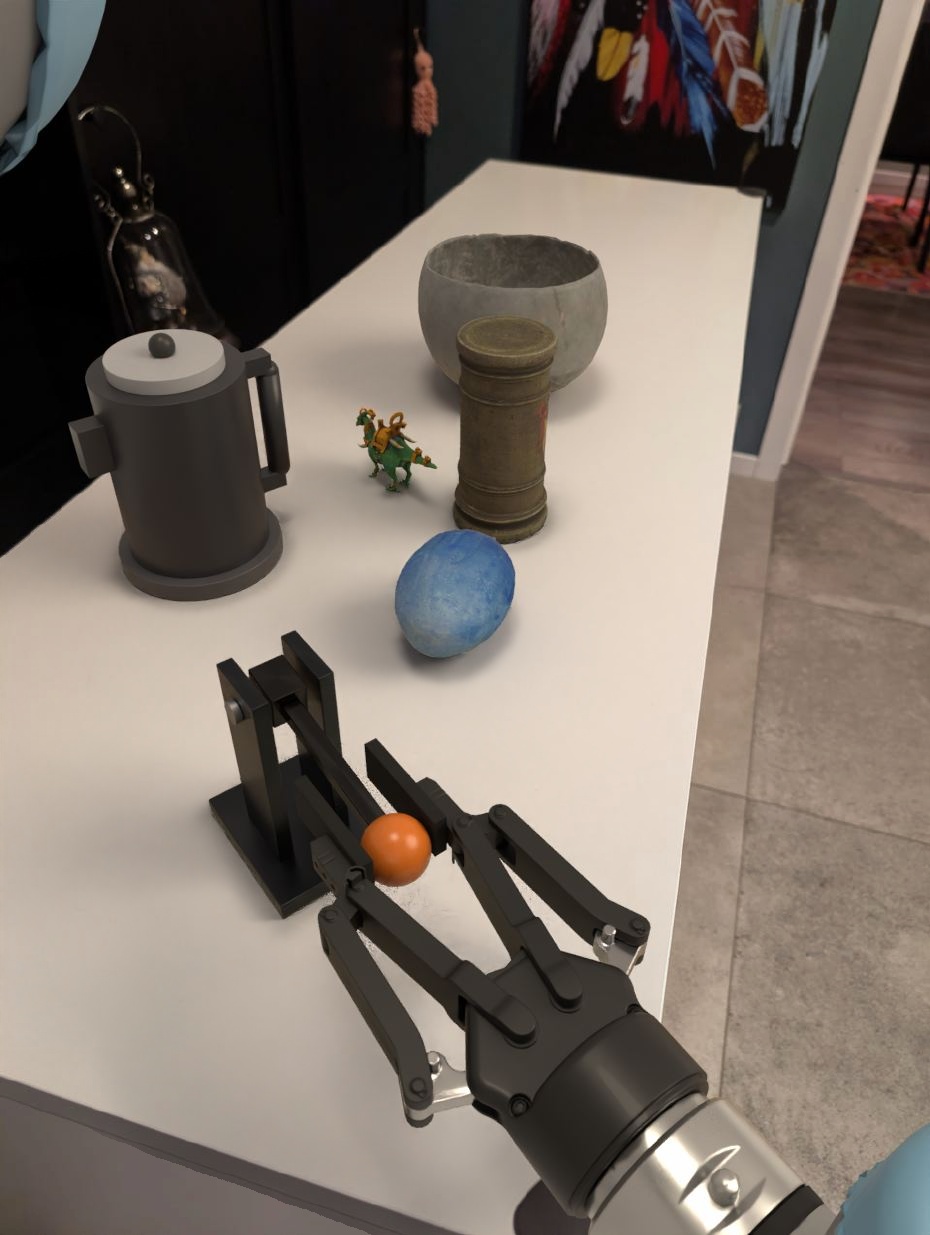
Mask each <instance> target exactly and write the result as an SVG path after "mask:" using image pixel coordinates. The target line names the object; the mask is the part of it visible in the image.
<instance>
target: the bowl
mask: <svg viewBox="0 0 930 1235" xmlns="http://www.w3.org/2000/svg"><path fill="white" fill-rule="evenodd" d="M607 286H608V285H607V281H606V278H605V274H604V270H603V267H602V264H601V261H600V258H599V257H598V256H597V254H595V252H593V251H592V250H590V249H589V250H588V249H586V248H585V247H583V246H582V245H578V244H577V243H574V242H571V241H568V240H562V239H560V238H557V237H555V236H549V235H540V234H532V233H530V234H528V233H527V234H501V233H497V232H496V233H495V232H494V233H479V234H472V235H471V234H470V235H469V234H465V235H459V236H454V237H450V238H448V239H445V240H443V241H441V242H439V243H437V244H435V246H433V247H431V249H429V250H428V252H427V254H426V255H425V257H424V261H423V263H422V267H421V270H420V275H419V279H418V286H417V287H418V288H417V290H418V291H417V313H418V318H419V323H420V328H421V332H422V336H423V339H424V341H425V344H426V347H427V348H428V351H429V354H430V355H431V357H432V359H433V360H434V362H435V363H436V365H437V366H438V368H439V369H440V370H441V371H442V373H443V374H444V375H445V376H447V377H448V378H449V379H450V380H451V381H452V382H453V383H454V384H456V385H457V386H459V378H460V376H461V364H460V361H459V358H458V356H459V352H458V351H457V349H456V344H455V341H456V336H457V334H458V331H459V330H460V329H461V327H462V326H464V325H465V324H467V323H468V322H470V321H473V320H475V319H479V318H482V317H488V316H498V315H509V316H520V317H526V318H531V319H534V320H537V321H540V322H542V323H544V324H546V325H548V326H549V327H551V328H552V329H553V330H554V332H555V333H556V336H557V339H558V349H557V351H556V353H555V355H554V362H553V364H552V367H551V369H550V380H551V389H550V391H549V394H551V393H553V392H556V391H559V390H561V389H562V388H565V387H566V386H568V385H569V384H570V383H572V382H573V381H575V380H576V379H577V378H579V377H580V375H582V374H583V373H584V372H585V371H586V370H587V368H588V367H589V366H590V365H591V364H592V362H593V360H594V359H595V356H596V354H597V352H598V350H599V348H600V345H601V343H602V341H603V338H604V335H605V331H606V326H607V323H608V322H607V321H608V312H609V298H608V288H607Z"/></svg>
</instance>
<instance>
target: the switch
mask: <svg viewBox="0 0 930 1235" xmlns="http://www.w3.org/2000/svg"><path fill="white" fill-rule="evenodd" d="M247 673H248V678H249V679H250V680H251V682H252V683H253V684H254V685H255V686H256V688H257V689H258V690H259V691H260V693H261V694H262V695H263V696H264V698H265V699H266V700H267V701H268V703H269V708H270V714H271V719H272V725H273V729H276V728H278V727H281V726H282V725H285V724H287V725H288V726H289V728H290V730H291V731H292V732H293V733H294V736H295V735H296V736H297V737H298V739H299V740H300V742H301V743H302V744H303V746H304V747H305V748H306V750H307V751H308V753H309V754H310V755H311V757H312V758H313V759H314V761H315V762H316V764H317V765H318V766H319V768H320V769H321V770H322V772H323V773H324V775H325V776H326V777H327V779H328V780H329V781H330V783H331V784H332V786H333V787H334V788H335V790H336V791H337V792H338V794H339V795H340V797H341V798H342V799H343V801H344V802H345V803H346V805H347V806H348V808H349V809H350V810H351V812H352V813H353V814H354V816H355V817H356V819H357V820H358V821H359V823H360V824H361V825H362V827H363V828H364V830H365V832H364V834H363V836H362V838H361V842H360V845H361V846H362V847H363V848H364V850H365V851H366V852H367V853H368V855H369V856H370V857H371V859H372V860H373V868H374V879H375V883H378V884H380V885H382V886H385V887H389V888H400V887H405V886H408V885H411V884H412V883H414V882H415V881H417V880H418V879H419V878H421V877H422V876H423V874H424V873H425V872H426V870H427V868H428V867H429V864H430V862H431V858H432V845H431V840H430V837H429V834H428V832H427V830H426V829H425V827H424V826H423V825H422V824H421V823H420V822H419V821H418V820H417V819H415V818H414V817H412V816H409V815H407V814H403V813H397V812H391V813H386V812H385V811H384V810H383V808H382V807H381V806H380V804H379V803H378V802H377V800H376V799H375V797H374V796H373V794H371V792H370V791H369V790H368V788H367V787H366V786H365V784H364V783H363V782H362V780H361V779H360V778H359V777H358V775H357V774H356V773H355V771H354V770H353V768H352V767H351V766H350V765H349V763H348V761H346V759H345V757H344V756H343V754H342V755H341V754H340V753H339V751H338V750H337V749H336V747H335V746H334V745H333V743H332V742H331V741H330V739H329V738H328V737H327V735H326V734H325V733H324V731H323V730H322V729H321V727H320V726H319V725H318V723H317V722H316V721H315V719H314V718H313V717H312V715H311V714H310V713H309V711H308V700H307V686H306V684H305V683H304V682H303V680H302V679H301V678H300V676H299V675H298V674H297V672H296V671H295V670H294V669H293V667H292V666H291V665H290V663H289V662H288V661H287V659H286V658H285V657H284V656H283V654H279V655H277V656H275V657H273V658H270V659H268V660H266V661H264V662H261V663H259V664H257V665H255V666H252V667H250V668H248V669H247ZM296 736H295V737H296ZM342 756H343V757H342Z"/></svg>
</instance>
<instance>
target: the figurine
mask: <svg viewBox="0 0 930 1235" xmlns="http://www.w3.org/2000/svg"><path fill="white" fill-rule="evenodd" d="M358 412H359V415H358V416H357V417H356V419H357V420H356V422H355V426H356V427H359V426H362V427H363V437H362V439H363V442H364V443H363V444H360V443H357V445H358V447H359V448H361V449H366V448H367V453H368V456H369V458H370V460H371V462H372V463H373V464H374V468H373V472H371V474H369V475H368V477H369V478H375V477H377V476H378V473H379V472H380V471H381V472H384V473H386V476H388V478H390V480H392V484H391V485H388V486H387V487H386V488H385V489H386V490H387V491H393V490H395V492H399V488H398V484H399V483H400V484H404V485H406V486H407V487H410V486H411V483H410V480H411V477H412V475H413V473H412V472H411V466H412V464H414V465H421V466H423V467H424V468H431V469H433V470H437V469H438V466H437V465H436V464H435V463H433V462H432V458H431V457H430V456H429V455H424V457H423V455H422V454H423V450H422V449H421V448H420V447H419V446H417V447H415V448H414V449H413V448H411V446H410V445H408V443H407V442H409V443H411V444H416V443H417V442H418V441H417V440H413V439H412V438H411V437H408V436H407V435H405V433H403V432H402V431H401V429H403V430H405V429H406V427H407V423H406V422H405V421H404V418H405V414H404V413H403V412H401V411H397V412H396V411H395V412H394V413H393V414H392V415H391V416H390V418H389V421H388V424H389V426H386V425H385V422H384V419H383V418H377V421H376V422H377V428H376V426H375V424H374V420H375V417H377V414H376V412H375V411H374V409H373V408H369V409H367V408H366V407H361V408H360V409H359V411H358ZM397 418H399V420H398V421H396V422H394V421H395V420H396V419H397ZM379 465H381V466H382V468H380V467H379ZM397 468H398V469H399V468H401V469H402V470H403V471H404V472H405V473H406V475H405V477H404V479H403V478H402V479H401V480H400V479H399V478H398V475H397Z"/></svg>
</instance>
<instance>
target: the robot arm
mask: <svg viewBox="0 0 930 1235" xmlns="http://www.w3.org/2000/svg"><path fill="white" fill-rule="evenodd" d="M106 3H107V0H0V178H1V177H2V176H4V175H5V174H6V173H8V172H10V171H11V170H13V169H14V168H15V167H16V166H17V165H19V163H20V162H21V161H23V160H24V159H25V158H26V157H27V155H28V154H29V153H30V151H31V150H32V149H33V148H34V147H35V146H36V144H37V140H38V135H39V133H40V131H42V130H43V129H44V128H45V127H46V126H47V125H48V124H49V123H50V122H51V121H52V120H53V119H54V117H55V116H56V115H57V113H58V112H59V111H60V110H61V108H62V107H63V106H64V104H65V102H66V101H67V99H68V98H69V97H70V95H71V94H72V92H74V91H73V90H74V89H75V88H76V86H77V85H78V83H79V81H80V79H81V76H82V74H83V72H84V70H85V69H86V68H85V67H86V65H87V64H88V61H89V59H90V56H91V54H92V52H93V51H92V50H93V48H94V46H95V42H96V40H97V38H98V34H99V30H100V27H101V23H102V20H103V17H104V16H103V15H104V12H105V8H106ZM363 747H364V759H365V770H366V778H367V779H368V781H370V783H371V784H372V785H373V786H374V787H375V788H376V790H377V791H378V792H379V793H380V795H382V796H383V798H384V799H385V800H386V801H387V803H389V805H390V806H391V807H392V808H393V809H394V811H395V813H403V814H407V815H409V816H412V817H414V818H415V819H417V820H418V821H419V822H420V823H421V824H422V825H423V826H424V827H425V829H426V830H427V832H428V834H429V837H430V840H431V845H432V853H431V855H433V857H438V856H439V855H441V854H442V853H444V852H445V851H448V846H449V848H451V864H452V865H455V864H457V865H458V868H459V870H460V872H461V873H462V874H463V876H464V878H465V880H466V881H467V884H468V885H469V886H470V889H471V891H472V892H473V894H474V895H475V897H476V899H477V901H478V902H479V904H480V906H481V908H482V909H483V911H484V913H485V915H486V916H487V918H488V920H489V922H490V923H491V925H492V928H493V929H494V930H495V932H496V934H497V936H498V938H499V939H500V941H501V943H502V945H503V946H504V948H505V950H506V951H507V954H508V955H509V959H510V960H509V962H507V964H506V965H505V966H504V967H501V968H499V969H495V970H493V971H490V972H488V973H485V972H483V971H482V970H481V969H480V968H479V967H477V966H476V965H475V964H474V963H473V962H472V961H470V960H468V959H461V958H460V957H459V956H457V954H455V953H454V952H453V951H452V950H451V949H449V948H448V947H447V946H446V945H445V944H444V943H443V942H442V941H440V940H439V939H438V938H437V937H436V936H434V934H432V933H431V932H430V931H429V930H427V928H425V927H424V926H423V925H421V923H420V922H419V921H418V920H416V919H415V918H414V917H412V916H411V915H410V914H409V913H408V912H407V911H405V909H403V908H402V907H401V906H400V905H399V904H397V903H396V902H395V901H394V899H392V898H390V896H388V895H387V894H386V893H385V892H384V891H383V890H381V889H380V888H379V887H378V886H377V885H376V881H375V879H374V868H373V860H372V859H371V857H370V856H369V855H368V853H367V852H366V851H365V850H364V848H363V847H362V846H361V845H360V843H359V842H358V841H357V840H356V838H355V837H354V836H353V835H352V833H351V832H350V831H349V829H348V828H347V827H346V826H345V824H344V823H343V822H342V821H341V819H340V818H339V817H338V816H337V814H336V813H335V812H334V811H333V809H332V808H331V807H330V805H329V804H328V803H327V802H326V800H325V799H324V798H323V797H322V795H321V794H320V793H319V792H318V790H317V789H316V788H315V787H314V785H313V784H312V783H311V781H310V780H309V779H308V778H307V776H306V775H303V776H301V777H300V778H298V779H296V780H294V781H292V783H293V789H294V795H295V801H296V807H297V813H298V815H299V817H300V818H301V819H302V821H303V822H304V823H305V825H306V826H307V827H308V829H309V830H310V831H311V833H312V834H313V835H314V837H315V838H316V839H315V840H313V841H311V842H310V846H311V853H312V859H313V865H314V869H315V870H316V872H317V873H318V874H319V876H320V877H321V878H322V880H323V881H324V882H325V884H326V885H327V887H328V888H329V889H330V893H331V894H332V895H333V896H334V897H335V900H334V901H333V902H332V903H331V904H328V905H325V906H323V907H322V908H321V909H320V910H319V912H318V913H317V923H318V929H319V930H318V931H319V936H320V943H321V948H322V951H323V953H324V955H325V956H326V958H327V959H328V961H329V963H330V965H331V966H332V968H333V969H334V971H335V973H336V975H337V976H338V978H339V980H340V981H341V983H342V985H343V986H344V988H345V990H346V991H347V993H348V995H349V997H350V998H351V1000H352V1002H353V1003H354V1006H356V1008H357V1010H358V1012H359V1013H360V1015H361V1017H362V1018H363V1021H364V1022H365V1024H366V1025H367V1027H368V1029H369V1030H370V1032H371V1034H372V1035H373V1038H375V1040H376V1042H377V1043H378V1045H379V1047H380V1049H381V1050H382V1052H383V1054H384V1055H385V1057H386V1059H387V1061H388V1062H389V1064H390V1065H391V1067H392V1069H393V1071H394V1072H395V1074H396V1076H397V1079H398V1085H399V1090H400V1097H401V1102H402V1107H403V1114H404V1117H405V1120H406V1122H407V1124H408V1125H409V1126H411V1127H413V1128H416V1129H423V1128H425V1127H427V1126H429V1125H430V1124H431V1123H432V1121H433V1118H434V1116H435V1114H437V1113H440V1112H441V1113H442V1112H444V1111H445V1112H446V1111H449V1110H454V1109H458V1108H461V1107H462V1108H463V1107H465V1106H470V1105H471V1107H473V1109H474V1110H475V1111H476V1112H478V1113H479V1114H481V1115H483V1116H484V1117H487V1118H489V1119H490V1120H493V1121H495V1123H497V1124H499V1126H500V1127H502V1128H503V1129H504V1130H505V1131H506V1133H507V1134H508V1135H509V1137H510V1139H512V1141H513V1142H514V1144H515V1145H516V1146H517V1148H518V1150H519V1151H520V1152H521V1153H522V1155H523V1156H524V1157H525V1159H526V1160H527V1162H528V1163H529V1164H530V1166H531V1168H533V1170H534V1171H535V1172H536V1174H537V1175H538V1177H539V1178H540V1180H541V1181H542V1183H544V1185H545V1186H546V1188H547V1190H548V1191H549V1192H550V1193H551V1194H552V1196H553V1197H554V1199H555V1200H556V1201H557V1203H558V1204H559V1205H560V1207H561V1209H563V1211H564V1212H565V1214H566V1215H567V1216H568V1217H575V1218H576V1219H581V1220H582V1219H587V1218H589V1219H590V1222H589V1223H590V1224H589V1227H588V1231H587V1235H930V1122H929V1123H926V1124H925V1125H922V1126H921V1127H919V1128H918V1129H916V1130H915V1131H914V1132H912V1133H911V1134H910V1135H909V1136H907V1137H906V1138H905V1140H903V1141H902V1142H901V1143H900V1144H899V1145H898V1146H897V1147H896V1148H895V1149H894V1150H893V1151H892V1152H891V1153H890V1154H888V1156H886V1158H885V1159H883V1160H880V1161H878V1162H876V1163H875V1164H874V1166H873V1167H872V1168H871V1169H867V1170H865V1171H863V1172H862V1173H861V1174H859V1175H858V1178H857V1180H855V1181H854V1183H853V1184H852V1185H850V1186H849V1188H848V1189H847V1191H846V1199H845V1200H844V1201H843V1202H842V1204H841V1205H840V1206H839V1211H838V1212H837V1214H835V1212H834V1211H833V1210H832V1209H831V1208H830V1206H828V1205H827V1204H826V1203H825V1202H824V1200H823V1199H822V1198H821V1197H820V1196H819V1195H818V1193H816V1191H815V1190H814V1189H813V1188H812V1187H811V1185H810V1184H809V1185H808V1184H807V1182H806V1181H805V1180H804V1179H803V1178H802V1177H801V1175H800V1174H798V1172H797V1171H796V1170H795V1169H794V1167H792V1166H791V1165H790V1164H789V1162H788V1161H787V1160H786V1159H785V1158H784V1157H783V1156H782V1155H781V1154H780V1152H779V1151H778V1150H777V1149H776V1148H775V1147H774V1146H773V1145H772V1144H771V1143H770V1142H769V1140H768V1139H767V1138H766V1137H765V1136H764V1135H763V1134H762V1133H761V1131H760V1130H759V1129H758V1128H757V1127H756V1126H755V1125H754V1124H753V1123H752V1122H751V1121H750V1119H749V1118H748V1117H747V1116H746V1115H745V1114H744V1113H743V1112H742V1111H741V1109H739V1107H738V1106H737V1105H736V1104H735V1103H734V1102H733V1101H732V1100H731V1099H730V1098H728V1097H720V1096H719V1097H718V1096H715V1097H712V1098H708V1094H709V1091H710V1085H709V1084H710V1083H709V1082H708V1073H707V1072H706V1071H705V1069H703V1068H702V1066H701V1065H700V1064H699V1063H698V1062H697V1061H696V1059H694V1057H693V1056H692V1055H691V1054H690V1052H688V1051H687V1050H686V1049H685V1048H684V1047H683V1046H682V1045H681V1043H679V1041H678V1040H677V1039H676V1038H675V1037H674V1035H672V1034H671V1032H670V1031H669V1030H667V1029H666V1027H665V1026H664V1025H663V1024H662V1022H660V1021H659V1019H657V1018H656V1017H655V1015H653V1014H651V1013H650V1012H648V1011H647V1010H646V1009H645V1008H644V1007H643V1006H642V1005H641V1003H640V1000H639V999H638V997H637V995H636V992H635V988H634V985H633V981H632V980H631V978H630V976H631V974H632V972H633V970H634V967H636V966H638V965H641V963H643V961H644V957H645V954H646V949H647V945H648V941H649V937H650V932H651V928H652V927H651V922H650V921H649V919H648V918H646V917H645V916H644V915H642V914H640V913H638V912H636V911H634V910H632V909H630V908H627V907H626V906H624V905H621V904H619V903H617V902H615V901H613V900H611V899H609V898H608V897H607V896H606V895H605V894H604V893H603V892H601V890H599V889H598V888H597V887H596V886H595V885H594V884H593V883H591V881H590V880H589V879H588V878H586V877H585V876H584V875H583V874H582V873H581V872H580V871H579V870H578V869H577V868H576V867H574V866H573V865H572V864H571V863H570V861H568V860H567V859H566V858H565V857H564V856H563V855H562V854H560V852H558V851H557V850H556V849H555V848H554V847H553V846H552V845H551V844H550V843H549V842H547V840H545V838H544V837H543V836H541V835H540V834H539V833H538V832H537V831H535V830H534V829H533V828H532V827H531V825H529V824H528V823H527V822H526V821H525V820H524V819H523V818H522V817H521V816H520V815H518V814H517V813H516V812H515V811H514V810H513V809H512V808H511V807H509V806H508V805H507V804H503V803H496V804H494V805H492V806H491V807H490V808H489V810H488V811H487V812H484V813H479V814H471V813H469V812H466V811H464V810H463V809H462V808H461V807H460V806H459V805H458V804H457V803H456V802H455V801H454V799H452V797H451V796H450V795H449V794H448V793H447V792H446V791H445V790H444V789H443V788H442V786H441V785H440V784H439V783H438V782H437V781H436V780H434V779H432V778H430V777H428V776H425V777H423V778H422V779H420V780H418V781H417V782H416V781H415V780H414V778H413V777H412V776H411V775H410V774H409V773H408V771H406V770H405V768H404V767H403V766H402V765H401V764H400V763H399V762H398V761H397V759H395V757H394V756H393V755H392V754H391V753H390V752H389V751H388V750H387V748H386V747H385V746H384V745H383V744H382V743H381V741H379V739H378V738H377V737H375V738H373V739H371V740H369V741H367V742H365V743H364V744H363ZM455 862H456V863H455ZM505 865H506V866H507V867H508V868H509V869H510V870H511V871H512V872H513V873H514V874H515V875H516V876H517V877H518V878H519V879H520V880H521V881H522V882H523V883H524V884H525V885H526V886H528V888H529V889H530V890H532V892H533V893H534V894H535V895H536V896H537V897H538V898H539V899H540V900H541V901H542V902H543V903H544V904H546V905H547V907H549V909H551V910H552V912H554V913H555V914H556V916H558V917H559V918H560V919H561V920H562V921H563V922H564V923H565V924H566V925H567V926H568V927H569V928H570V929H571V930H572V931H573V932H574V933H575V934H576V935H577V936H578V937H579V938H580V939H582V940H583V941H584V942H585V943H586V944H588V945H589V946H591V947H592V951H593V954H594V955H595V957H596V958H597V959H598V960H596V959H592V958H589V957H585V956H582V955H578V954H576V953H571V952H567V951H564V950H561V949H560V947H559V945H558V944H557V943H556V940H555V939H554V938H553V935H552V934H551V933H550V931H549V930H548V928H547V926H546V924H545V923H544V921H543V919H541V917H539V916H536V915H535V914H534V912H533V911H532V909H531V907H530V906H529V904H528V903H527V901H526V899H525V898H524V896H523V894H522V893H521V890H520V889H519V888H518V886H517V885H516V883H515V881H514V880H513V878H512V876H511V875H510V873H509V872H508V870H507V868H506V866H505ZM357 931H359V932H360V933H362V934H363V936H365V937H366V938H367V939H368V940H369V941H370V942H371V943H372V944H374V946H376V947H377V948H378V949H379V950H380V951H381V952H382V953H383V954H384V955H385V956H387V957H388V958H389V959H390V961H392V962H393V963H394V964H395V965H396V966H397V967H399V968H400V969H401V970H402V971H403V972H404V973H405V974H407V975H408V976H409V977H410V979H411V980H413V981H414V982H415V983H416V984H417V985H418V986H420V988H422V989H423V990H424V991H425V992H426V993H427V994H428V995H429V996H431V997H432V998H433V999H434V1000H435V1001H436V1002H437V1003H438V1004H439V1005H440V1006H441V1007H442V1008H443V1009H444V1011H445V1013H446V1015H447V1016H448V1018H449V1019H450V1020H451V1021H452V1022H453V1023H454V1024H455V1025H456V1026H457V1027H459V1028H460V1029H461V1031H463V1032H464V1039H465V1040H464V1049H465V1050H464V1051H465V1052H464V1053H465V1055H464V1058H465V1062H464V1063H465V1070H457V1069H455V1068H454V1067H452V1066H451V1065H450V1064H449V1062H448V1060H447V1058H446V1057H445V1056H444V1054H443V1053H440V1052H439V1051H436V1050H430V1051H429V1052H427V1049H426V1045H425V1042H424V1039H423V1037H422V1034H421V1032H420V1031H419V1029H418V1027H417V1025H416V1023H415V1022H414V1020H413V1019H412V1017H411V1015H410V1014H409V1012H408V1011H407V1009H406V1007H405V1006H404V1005H403V1002H402V1001H401V999H400V998H399V996H398V994H397V993H396V992H395V990H394V989H393V987H392V986H391V984H390V982H389V981H388V979H387V978H386V976H385V975H384V973H383V971H382V970H381V968H380V967H379V965H378V963H377V962H376V960H375V959H374V957H373V956H372V954H371V952H370V950H369V949H368V948H367V946H366V944H365V943H364V941H363V939H362V938H361V937H360V935H359V933H358V932H357Z"/></svg>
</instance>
